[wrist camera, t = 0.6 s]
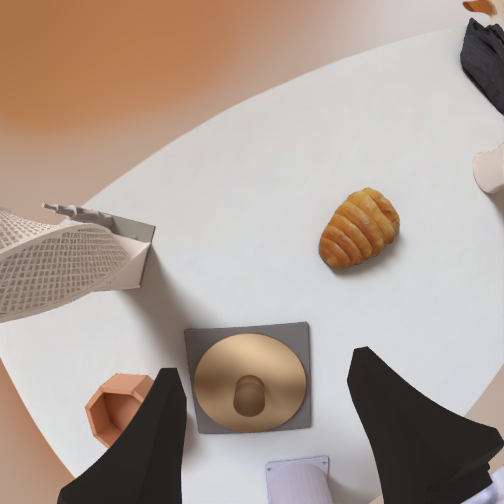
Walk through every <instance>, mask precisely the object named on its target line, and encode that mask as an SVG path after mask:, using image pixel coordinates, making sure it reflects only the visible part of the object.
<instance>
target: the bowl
mask: <svg viewBox="0 0 504 504" xmlns="http://www.w3.org/2000/svg"><path fill="white" fill-rule="evenodd" d="M153 383H154V381H153V380H152V379H151V378H150V377H148V376H147V375H132V374H115V375H114V376H112V377H111V378H110V379H109V380H107V381H106V382H105V383H104V384H103V385H101V386H100V387H99V389H98V390H97V391H96V393H95V394H94V395H93V397H92V398H91V399H90V400H89V402H88V403H87V404H86V406H85V410H86V413H87V417H88V420H89V423H90V427H91V430H92V433H93V436H94V437H95V438H96V439H98V440H99V441H100V442H101V443H102V444H103V445H105V446H106V447H107V448H108V449H109V448H110V447H111V446H112V444H113V443H114V442H115V441H116V440H117V438H118V437H119V436H120V435H121V433H122V432H123V431H124V430H125V428H126V427H127V425H128V424H129V422H130V421H131V419H132V418H133V417H134V415H135V414H136V412H137V411H138V409H139V407H140V406H141V404H142V402H143V401H144V399H145V397H146V396H147V394H148V392H149V390H150V388H151V386H152V385H153ZM105 395H106V396H105Z"/></svg>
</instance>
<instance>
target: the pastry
mask: <svg viewBox="0 0 504 504" xmlns="http://www.w3.org/2000/svg"><path fill="white" fill-rule="evenodd" d="M399 221H400V220H399V216H398V214H397V212H396V210H395V209H394V207H393V206H392V204H391V203H390V201H389V200H387V199H386V198H385V197H384V196H383V195H382V194H381V193H379V192H378V191H376V190H373V189H371V188H364V189H363V190H361V191H359V192H355V193H352V194H351V195H349V197H348V198H347V199H346V200H345V201H344V202H343V204H342V205H340V206H339V207H338V209H337V210H336V212H335V214H334V215H333V217H332V219H331V220H330V222H329V223H328V225H327V226H326V228H325V230H324V231H323V233H322V235H321V239H320V243H319V254H320V256H321V257H322V259H323V260H324V261H325V262H326V263H327V264H328V265H329V266H330V267H333V268H339V269H345V268H348V267H350V266H352V265H357V264H360V263H362V262H363V261H364V260H367V259H368V258H370V257H374V256H377V255H378V254H379V252H380V251H381V249H383V248H384V247H385V246H386V245H387V244H391V243H392V242H393V240H394V236H395V235H397V234H398V233H399V226H400V223H399Z"/></svg>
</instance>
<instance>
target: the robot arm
mask: <svg viewBox="0 0 504 504" xmlns="http://www.w3.org/2000/svg"><path fill="white" fill-rule="evenodd" d="M347 383H348V387H349V391H350V394H351V398H352V401H353V404H354V406H355V408H356V411H357V413H358V415H359V418H360V420H361V422H362V425H363V427H364V429H365V432H366V434H367V437H368V439H369V441H370V444H371V447H372V450H373V454H374V457H375V461H376V465H377V469H378V473H379V478H380V482H381V488H382V493H383V499H384V504H504V465H503V466H501V467H500V468H498V469H497V470H495V471H494V472H493V473H492V474H490V475H489V473H488V470H489V469H490V466H489V464H488V462H489V461H490V460H491V459H492V458H493V457H494V456H495V455H496V454H497V453H498V452H499V451H500V450H501V449H502V448H503V446H504V440H503V439H502V437H501V436H500V434H499V432H498V430H497V429H496V428H493V427H490V426H486V425H483V424H480V423H476V422H474V421H471V420H469V419H466V418H464V417H462V416H460V415H457V414H455V413H453V412H451V411H449V410H447V409H446V408H444V407H442V406H440V405H439V404H437V403H435V402H434V401H432V400H431V399H429V398H427V397H426V396H425V395H423V394H422V393H420V392H419V391H418V390H416V389H415V388H414V387H412V386H411V385H410V384H409V383H407V382H406V381H405V380H404V379H403V378H402V377H400V376H399V375H398V374H397V373H396V372H395V371H394V370H392V369H391V368H390V367H389V366H388V365H387V364H386V363H385V362H384V361H383V360H382V359H381V358H379V357H378V356H377V355H376V354H375V353H374V352H373V351H372V350H371V349H370V348H369V347H368V346H367V347H362V348H356V349H354V352H353V356H352V361H351V365H350V369H349V373H348V378H347ZM186 417H187V403H186V395H185V392H184V389H183V386H182V383H181V380H180V377H179V374H178V371H177V368H161V369H160V371H159V373H158V375H157V377H156V379H155V381H154V383H153V385H152V386H151V388H150V390H149V392H148V394H147V396H146V397H145V399H144V401H143V402H142V404H141V406H140V407H139V409H138V411H137V412H136V414H135V415H134V417H133V418H132V419H131V421H130V422H129V424H128V425H127V427H126V428H125V430H124V431H123V432H122V433H121V435H120V436H119V437H118V438H117V440H116V441H115V442H114V443H113V444H112V446H111V447H110V448H109V449H108V450H107V451H106V452H105V453H104V454H103V455H102V456H101V457H100V458H99V459H98V460H97V461H96V462H95V463H94V464H93V465H92V466H91V467H89V468H88V469H87V470H86V471H85V472H84V473H83V474H81V475H80V476H79V477H77V478H76V479H75V480H73V481H72V482H71V483H69V484H68V485H66V486H65V487H63V488H62V489H61V491H60V494H59V497H58V501H57V504H182V492H181V464H182V455H183V446H184V437H185V429H186ZM323 462H325V463H323ZM328 462H329V459H328V457H327V456H322V457H315V458H308V459H300V460H291V461H281V462H269V463H267V464H266V478H267V491H268V503H269V504H334V503H333V500H332V497H331V494H330V491H329V488H328V485H327V477H328ZM268 468H271V469H268Z"/></svg>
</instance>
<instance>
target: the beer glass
mask: <svg viewBox="0 0 504 504" xmlns="http://www.w3.org/2000/svg"><path fill="white" fill-rule="evenodd" d="M473 174H474V177H475V180H476V182H477V184H478V185H479V187H480V188H481V189H482V190H483V191H484V192H486V193H488V194H494V193H496V192H498V191H499V190H501V189H503V188H504V142H503V143H502V144H501V145H499V146H498V147H497V148H495V149H493V150H490V151H485V152H480V153H478V154H477V155H476V156H475V157H474V159H473Z"/></svg>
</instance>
